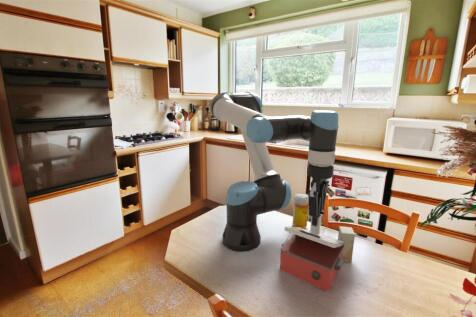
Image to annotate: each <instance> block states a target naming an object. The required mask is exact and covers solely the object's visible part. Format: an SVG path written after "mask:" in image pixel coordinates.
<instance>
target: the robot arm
mask: <svg viewBox="0 0 476 317" xmlns="http://www.w3.org/2000/svg"><path fill="white" fill-rule="evenodd" d="M263 110H264V109H263V101H262V100H261V98H260V96H259V95H258V94H257V93H254V92H248V91H246V92H221V93H218V94H217V95H214V97H213V98H212V99H211V101H210V104H209V112H210V114H211V115H212V117H214V118H215V119H216V120H218V121H220V122H227V123H229V124H230V125H232V126H234V127H236V128H238V129H240V131H241V134H242V138H243V141H244V144H245V148H246V152H247V155H248V158H249V162H250V165H251V168H252V171H253V175H254V178H253V181H249V180H247V181H245V180H242V181H237V182H235V183H233V184H230V185H229V187H228V188H227V190H226V198H225V202H226V225H225V227H224V230H223V232H222V237H221V238H222V244H223V246H224V247H225V248H226V249H228V250H230V251H234V252H235V253H245V252H251V251H254V250H255V249H258V247H259V246H260V245H261V242H262V241H261V237H262V236H261V233H260V231H259V226H258V223H257V217H258V215H262V214H266V213H270V212H274V211H275V212H276V211H279V210H281V209H285V208H286V207H287V206H289V205H290V203H291V199H292V189H291V188H292V187H291V185H290V183H289V181H287V180H285V179H283V178H282V177H281V175H280V173H279V172H276V171H275V169H274V168H275V167H274V165H273V162H272V158H271V155H270V152H269V149H268V146H267V143H273V142H281V141H290V140H302V141H306V142H309V143H308V151H307V153H308V156H307V162H308V163H307V169H306V170H307V171H306V174H307V176H308V177H311V179H312V180H311V182H310V189H308V190H307V195H308V199H309V205H308V216H309V217H310V229H309V230H310V233H312V234H316V235H319V234H321V226H322V225H321V223H322V216H325V205H326V200H327V199H326V198H327V192H328V187H329V184H330V180H329V179H331V178H333V177H334V170H335V169H334V168H335V166H334V163H335V158H337V157H338V155H337V153H336V150H337V147H336V146H337V139H338V138H337V137H338V129H339V113H338V112H337V111H334V110H320V109H319V110H313V111H311V113H310V116H308V115H302V114H301V115H300V114H289V115H281V116H279V115H278V116H268V115H265V114H263Z"/></svg>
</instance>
